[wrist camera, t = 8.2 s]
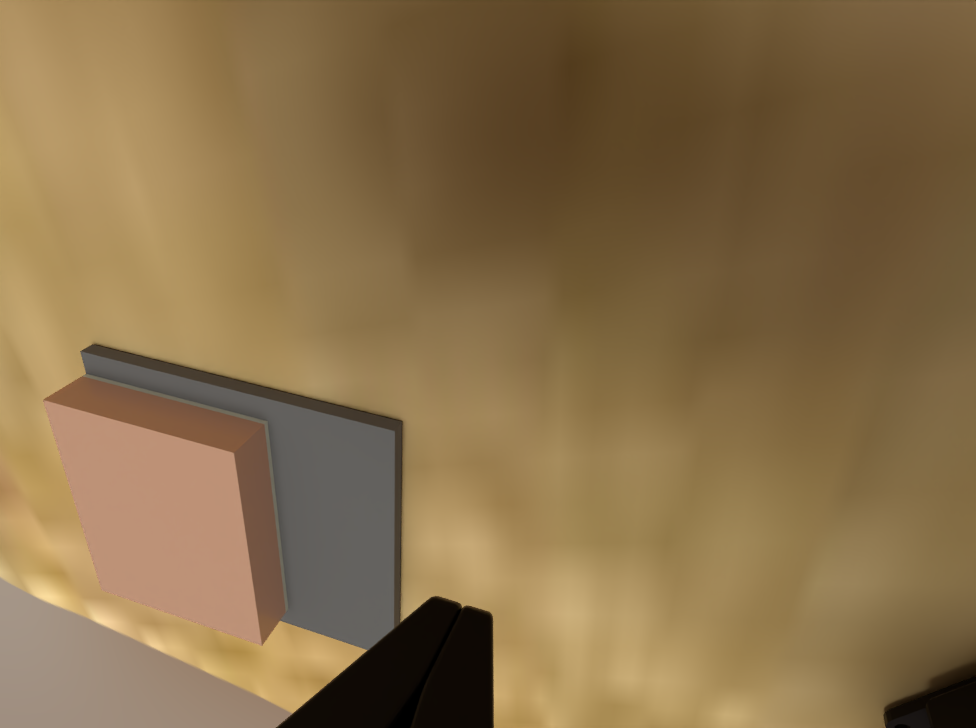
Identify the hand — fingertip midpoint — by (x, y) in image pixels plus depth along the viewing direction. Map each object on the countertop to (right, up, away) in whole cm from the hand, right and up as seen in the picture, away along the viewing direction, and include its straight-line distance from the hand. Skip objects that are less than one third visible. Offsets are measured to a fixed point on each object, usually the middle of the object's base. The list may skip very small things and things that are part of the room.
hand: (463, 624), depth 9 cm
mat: (-9, -2, +19) cm, 21 cm away
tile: (-8, -3, +17) cm, 20 cm away
